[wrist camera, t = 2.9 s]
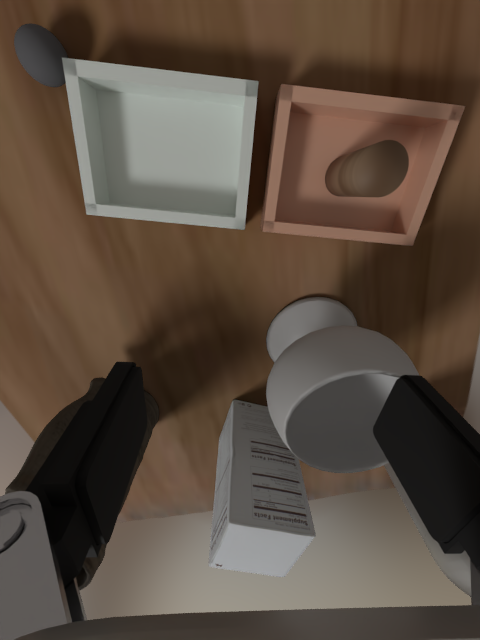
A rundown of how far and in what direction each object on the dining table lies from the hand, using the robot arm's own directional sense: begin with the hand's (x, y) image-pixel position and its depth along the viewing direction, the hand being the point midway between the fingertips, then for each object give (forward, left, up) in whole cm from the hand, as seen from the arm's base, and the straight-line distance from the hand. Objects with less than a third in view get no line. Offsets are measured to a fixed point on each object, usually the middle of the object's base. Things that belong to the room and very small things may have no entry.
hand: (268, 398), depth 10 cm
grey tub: (+9, -9, -23) cm, 26 cm away
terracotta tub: (-8, -9, -23) cm, 26 cm away
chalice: (-9, +10, -23) cm, 27 cm away
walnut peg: (-8, -9, -22) cm, 25 cm away
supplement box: (-3, +27, -23) cm, 36 cm away
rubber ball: (+19, -15, -21) cm, 32 cm away
